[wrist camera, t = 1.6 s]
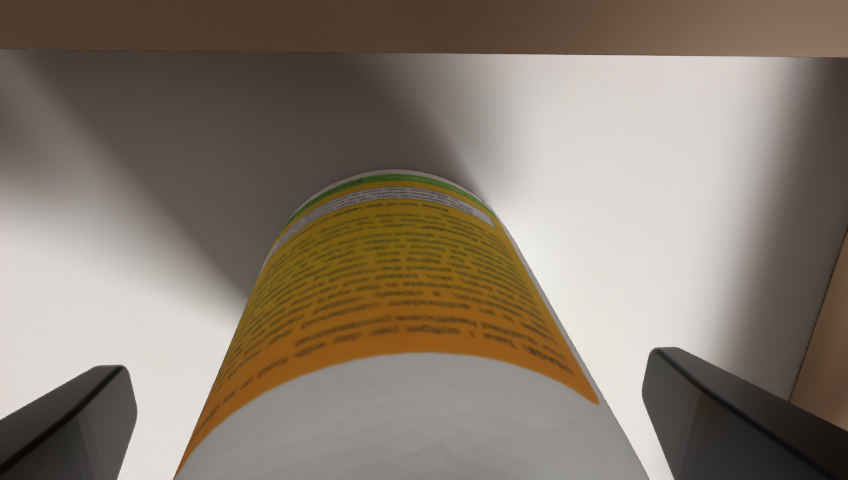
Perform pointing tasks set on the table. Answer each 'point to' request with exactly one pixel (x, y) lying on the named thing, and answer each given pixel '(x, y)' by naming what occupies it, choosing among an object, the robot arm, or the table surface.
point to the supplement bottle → (402, 353)
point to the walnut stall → (480, 34)
